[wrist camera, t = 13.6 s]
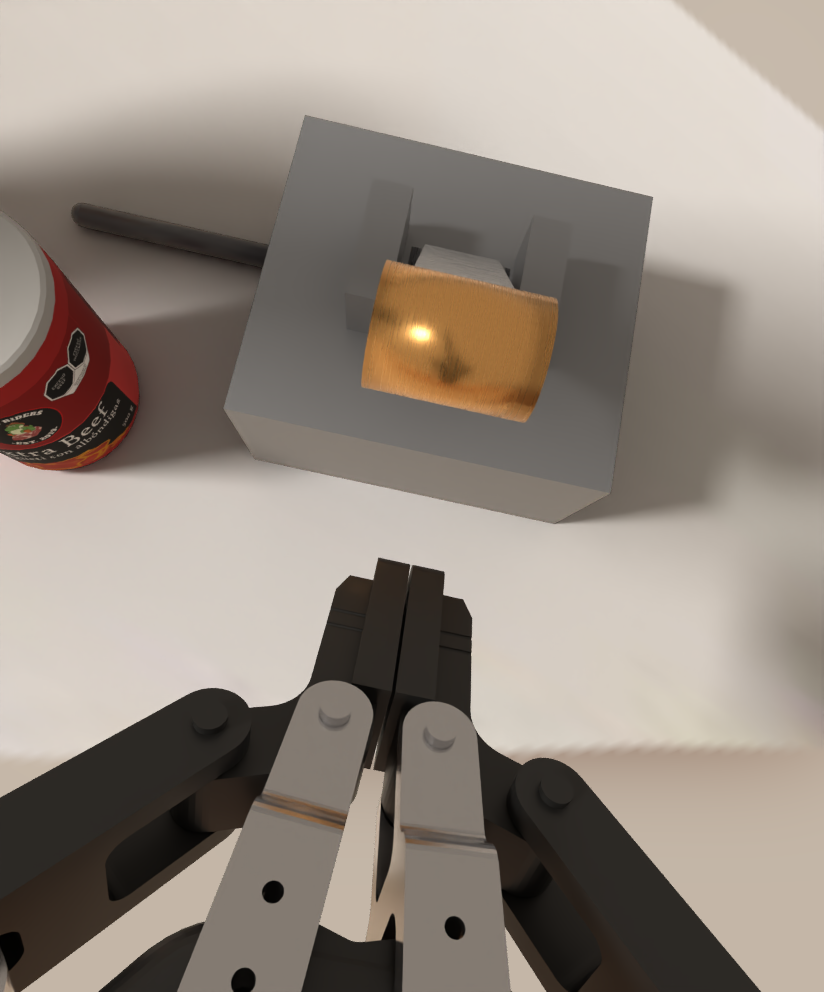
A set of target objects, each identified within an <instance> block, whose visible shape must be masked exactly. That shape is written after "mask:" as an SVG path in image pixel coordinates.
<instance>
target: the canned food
mask: <svg viewBox="0 0 824 992" xmlns="http://www.w3.org/2000/svg"><path fill="white" fill-rule="evenodd" d="M138 403H139V387H138V376H137V373H136V370H135V366H134V363H133V361H132V359H131V358H130V356H129V354H128V352H127V350H126V349H125V348H124V347H123V346H122V344H121V343H120V342H119V341H118V339H117V338H116V337H115V336H114V335H113V333H112V332H111V331H110V330H109V328H108V327H107V326H106V325H105V324H104V322H103V321H102V320H101V319H100V317H99V316H98V315H97V314H96V313H95V311H94V310H93V309H92V308H91V307H90V305H89V304H88V303H87V302H86V300H85V299H84V298H83V297H82V296H81V294H80V293H79V292H78V291H77V289H76V288H75V287H74V286H73V285H72V283H71V282H70V281H69V280H68V279H67V277H66V276H65V275H64V274H63V272H62V271H61V270H60V269H59V268H58V266H57V265H56V264H55V263H54V261H53V260H52V259H51V258H50V257H49V256H48V255H47V253H46V252H45V251H44V250H43V249H42V248H41V247H40V246H39V244H38V243H37V242H36V241H35V240H34V239H33V237H32V236H31V235H30V234H29V233H28V232H27V231H26V230H25V229H23V228H22V227H21V226H20V225H19V224H18V223H17V222H16V221H14V220H13V219H12V218H10V217H9V216H8V215H6V214H5V213H4V212H2V211H0V453H2V454H4V455H6V456H8V457H10V458H12V459H14V460H16V461H18V462H21V463H23V464H25V465H27V466H30V467H34V468H38V469H42V470H65V469H72V468H80V467H82V466H85V465H88V464H91V463H94V462H96V461H98V460H99V459H101V458H103V457H105V456H106V455H108V454H109V453H110V452H111V451H112V450H114V449H115V448H116V447H117V446H118V445H119V444H120V443H121V442H122V440H123V439H124V438H125V437H126V436H127V434H128V432H129V430H130V428H131V427H132V425H133V423H134V420H135V417H136V414H137V411H138Z"/></svg>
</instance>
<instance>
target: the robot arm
mask: <svg viewBox="0 0 824 992" xmlns="http://www.w3.org/2000/svg"><path fill="white" fill-rule="evenodd" d="M409 569H410V564H405V563H401V562H396V561H392V560H387V559H382V558H378V562H377V566H376V570H375V575H374V579H373V580H369V579H364V578H360V577H355V576H351V575H350V576H349V577H348V578H347V579H346V580H345V581H344V582H343V583H342V584H341V585H340V586H339V587H338V588H337V589H336V591H335V595H334V599H333V602H332V606H331V610H330V613H329V616H328V620H327V624H326V627H325V630H324V634H323V638H322V641H321V645H320V648H319V652H318V655H317V659H316V662H315V666H314V669H313V673H312V676H311V679H310V682H309V684H308V685H307V687H306V688H305V690H304V691H303V692H302V693H301V694H299V695H298V696H297V697H295V698H294V699H292V700H290V701H288V702H286V703H283V704H279V705H274V706H265V707H253V708H249V707H248V705H247V704H246V702H245V701H244V700H243V699H242V698H241V697H240V696H238V695H237V694H235V693H233V692H231V691H228V690H224V689H218V688H207V689H201V690H198V691H195V692H192V693H190V694H188V695H186V696H184V697H183V698H181V699H179V700H177V701H175V702H173V703H172V704H170V705H168V706H166V707H164V708H162V709H161V710H159V711H157V712H155V713H153V714H152V715H150V716H148V717H146V718H144V719H142V720H141V721H139V722H137V723H135V724H133V725H132V726H130V727H128V728H126V729H124V730H122V731H121V732H119V733H117V734H115V735H113V736H112V737H110V738H108V739H106V740H104V741H102V742H101V743H99V744H97V745H95V746H93V747H92V748H90V749H88V750H86V751H84V752H82V753H81V754H79V755H77V756H75V757H73V758H72V759H70V760H68V761H66V762H64V763H62V764H61V765H59V766H57V767H55V768H53V769H52V770H50V771H48V772H46V773H44V774H42V775H41V776H39V777H37V778H35V779H33V780H32V781H30V782H28V783H26V784H24V785H23V786H21V787H19V788H17V789H15V790H13V791H12V792H10V793H8V794H6V795H5V796H2V797H1V798H0V992H21V991H22V990H23V989H25V988H26V987H27V986H29V985H30V984H31V983H33V982H34V981H36V980H37V979H38V978H39V977H41V976H42V975H44V974H45V973H46V972H48V971H49V970H50V969H52V968H53V967H54V966H56V965H57V964H58V963H59V962H61V961H62V960H64V959H65V958H66V957H68V956H69V955H70V954H72V953H73V952H74V951H76V950H77V949H78V948H80V947H81V946H82V945H84V944H85V943H86V942H88V941H89V940H90V939H92V938H93V937H94V936H96V935H97V934H98V933H100V932H101V931H102V930H104V929H105V928H106V927H108V926H109V925H110V924H112V923H113V922H115V921H116V920H117V919H119V918H120V917H121V916H122V915H124V914H125V913H127V912H128V911H129V910H131V909H132V908H133V907H135V906H136V905H137V904H139V903H140V902H141V901H143V900H144V899H145V898H147V897H148V896H149V895H151V894H152V893H153V892H155V891H156V890H157V889H159V888H160V887H161V886H163V885H164V884H165V883H167V882H168V881H169V880H171V879H172V878H173V877H175V876H176V875H177V874H179V873H180V872H181V871H183V870H184V869H185V868H187V867H188V866H189V865H191V864H192V863H194V862H195V861H196V860H198V859H199V858H200V857H202V856H203V855H204V854H206V853H207V852H208V851H210V850H211V849H212V848H214V847H215V846H216V845H217V844H219V843H220V842H222V841H223V840H224V839H226V838H227V837H228V836H229V835H230V834H231V833H232V832H233V831H234V830H235V829H236V828H242V831H241V833H240V836H239V838H238V841H237V843H236V846H235V848H234V851H233V853H232V856H231V858H230V861H229V863H228V866H227V868H226V871H225V873H224V876H223V878H222V881H221V883H220V886H219V888H218V891H217V893H216V896H215V898H214V901H213V903H212V906H211V908H210V911H209V913H208V916H207V918H206V921H205V922H202V923H198V924H195V925H193V926H190V927H187V928H184V929H182V930H180V931H178V932H176V933H174V934H172V935H170V936H168V937H166V938H165V939H163V940H162V941H160V942H159V943H157V944H156V945H154V946H153V947H151V948H150V949H148V950H147V951H146V952H145V953H143V954H142V955H141V956H140V957H138V958H137V959H136V960H135V961H134V962H133V963H131V964H130V965H129V966H128V967H127V968H126V969H124V970H123V971H122V972H121V973H120V974H119V975H118V976H116V977H115V978H114V979H113V980H111V981H110V982H109V983H108V984H107V985H106V986H104V987H103V988H102V989H101V990H100V991H99V992H512V991H511V990H510V979H509V969H508V958H507V947H506V936H505V927H506V929H507V931H508V932H509V933H510V935H511V937H512V938H513V940H514V941H515V943H516V945H517V946H518V948H519V949H520V951H521V952H522V954H523V956H524V957H525V959H526V960H527V962H528V963H529V965H530V967H531V968H532V969H533V971H534V973H535V974H536V976H537V978H538V979H539V981H540V982H541V984H542V985H543V987H544V988H545V990H546V992H761V991H760V990H759V989H758V988H757V986H756V985H755V984H754V983H753V982H752V981H751V979H750V978H749V977H748V976H747V975H746V973H745V972H744V971H743V970H742V969H741V967H740V966H739V965H738V964H737V963H736V961H735V960H734V959H733V958H732V957H731V955H730V954H729V953H728V952H727V951H726V949H725V948H724V947H723V946H722V945H721V944H720V942H719V941H718V940H717V939H716V937H715V936H714V935H713V934H712V933H711V932H710V930H709V929H708V928H707V927H706V926H705V924H704V923H703V922H702V921H701V920H700V918H699V917H698V916H697V915H696V914H695V912H694V911H693V910H692V909H691V908H690V906H689V905H688V904H687V903H686V902H685V901H684V899H683V898H682V897H681V896H680V895H679V893H678V892H677V891H676V890H675V889H674V887H673V886H672V885H671V884H670V883H669V881H668V880H667V879H666V878H665V877H664V875H663V874H662V873H661V872H660V871H659V870H658V868H657V867H656V866H655V865H654V864H653V863H652V861H651V860H650V859H649V858H648V856H647V855H646V854H645V853H644V852H643V850H642V849H641V848H640V847H639V846H638V844H637V843H636V842H635V841H634V840H633V839H632V838H631V836H630V835H629V834H628V833H627V831H626V830H625V829H624V828H623V827H622V825H621V824H620V823H619V822H618V821H617V819H616V818H615V817H614V816H613V815H612V814H611V812H610V811H609V810H608V809H607V808H606V806H605V805H604V804H603V803H602V802H601V800H600V799H599V798H598V797H597V796H596V794H595V793H594V792H593V791H592V790H591V789H590V787H589V786H588V785H587V784H586V783H585V782H584V780H583V779H582V778H581V777H580V776H579V775H578V774H577V772H575V771H574V770H573V769H572V768H570V767H569V766H567V765H566V764H564V763H562V762H560V761H557V760H554V759H549V758H537V759H532V760H530V761H528V762H526V763H525V764H524V765H521V764H519V763H517V762H515V761H513V760H511V759H509V758H508V757H506V756H504V755H502V754H500V753H498V752H497V751H495V750H494V749H492V748H491V747H490V746H488V745H487V744H486V743H485V742H484V741H483V740H482V738H481V737H480V736H479V735H478V733H477V731H476V730H475V728H474V725H473V723H472V719H471V712H470V703H471V648H472V640H471V638H472V617H471V615H470V613H469V611H468V609H467V607H466V605H465V602H464V600H463V599H458V598H453V597H449V596H444V595H443V589H444V575H445V574H444V572H443V571H438V570H434V569H429V568H425V567H420V566H415V565H412V568H411V571H410V575H409ZM408 576H409V578H408ZM377 742H378V743H377ZM376 746H377V750H376ZM375 750H376V756H375V763H374V770H378V771H382V772H385V775H384V783H383V790H382V794H381V797H380V801H379V804H378V808H377V816H376V832H375V848H374V863H373V879H372V896H371V909H370V918H369V924H368V930H367V935H366V941H365V942H353V941H350V940H348V939H346V938H344V937H342V936H340V935H338V934H336V933H334V932H332V931H331V930H329V929H327V928H325V927H323V926H321V925H319V922H320V918H321V914H322V911H323V907H324V903H325V899H326V895H327V891H328V888H329V884H330V880H331V876H332V872H333V868H334V865H335V861H336V857H337V853H338V850H339V846H340V842H341V838H342V834H343V831H344V827H345V823H346V819H347V815H348V811H349V808H350V804H351V803H352V802H353V800H354V799H355V797H356V794H357V791H358V787H359V783H360V779H361V776H362V772H363V768H367V769H370V767H371V764H372V760H373V757H374V753H375Z"/></svg>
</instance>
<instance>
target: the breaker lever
mask: <svg viewBox="0 0 824 992" xmlns="http://www.w3.org/2000/svg"><path fill="white" fill-rule="evenodd" d="M509 276H510V269H509V268H505V267H502V265H501V263H500V261H498V260H494V259H489V258H485V257H481V256H476V255H472V254H468V253H463V252H459V251H455V250H450V249H446V248H442V247H437V246H433V245H429V244H425V246H424V248H423V249H422V248H418V247H414V246H412V248H411V252H410V256H409V261H408V264H404V263H400V262H395V261H391V260H386V262H385V265H384V268H383V271H382V274H381V278H380V282H379V285H378V289H377V294H376V298H375V302H374V307H373V312H372V316H371V321H370V326H369V332H368V337H367V343H366V349H365V355H364V362H363V369H362V379H361V386H362V387H363V388H368V389H372V390H377V391H381V392H386V393H390V394H395V395H399V396H404V397H409V398H413V399H418V400H422V401H427V402H431V403H436V404H440V405H445V406H449V407H454V408H458V409H463V410H467V411H472V412H476V413H481V414H485V415H490V416H494V417H499V418H503V419H508V420H512V421H517V422H521V423H524V422H526V421H527V420H528V418H529V417H530V415H531V414H532V412H533V410H534V408H535V405H536V403H537V401H538V398H539V395H540V393H541V390H542V387H543V384H544V381H545V378H546V374H547V371H548V367H549V363H550V360H551V355H552V351H553V346H554V342H555V336H556V330H557V323H558V301H557V299H556V298H553V297H549V296H544V295H540V294H536V293H531V292H527V291H522V290H518V289H514V287H513V285H512V283H511V281H510V280H509Z"/></svg>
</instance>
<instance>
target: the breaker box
mask: <svg viewBox="0 0 824 992" xmlns="http://www.w3.org/2000/svg"><path fill="white" fill-rule="evenodd" d="M652 200H653V197H651V196H646V195H642V194H638V193H634V192H629V191H625V190H621V189H617V188H612V187H608V186H604V185H600V184H595V183H591V182H587V181H583V180H578V179H574V178H570V177H566V176H561V175H557V174H553V173H549V172H544V171H540V170H536V169H532V168H527V167H523V166H519V165H515V164H510V163H506V162H502V161H498V160H493V159H489V158H485V157H481V156H476V155H472V154H468V153H464V152H459V151H455V150H451V149H447V148H442V147H438V146H434V145H430V144H425V143H421V142H417V141H413V140H408V139H404V138H400V137H396V136H391V135H387V134H383V133H379V132H374V131H370V130H366V129H362V128H357V127H353V126H349V125H345V124H340V123H336V122H332V121H328V120H323V119H319V118H315V117H311V116H306V115H305V118H304V121H303V125H302V128H301V132H300V136H299V139H298V143H297V146H296V150H295V154H294V157H293V161H292V164H291V168H290V171H289V175H288V179H287V182H286V186H285V189H284V193H283V197H282V200H281V204H280V207H279V211H278V215H277V218H276V222H275V225H274V229H273V232H272V236H271V240H270V243H269V245H266V244H261V243H257V242H253V241H248V240H244V239H239V238H235V237H231V236H226V235H222V234H217V233H213V232H209V231H204V230H200V229H196V228H191V227H187V226H182V225H178V224H174V223H169V222H165V221H160V220H156V219H152V218H147V217H143V216H138V215H134V214H130V213H125V212H121V211H116V210H112V209H108V208H103V207H99V206H95V205H90V204H86V203H78V204H76V205H75V206H74V207H73V208H72V212H71V214H72V218H73V220H74V221H75V222H76V223H77V224H78V225H80V226H82V227H86V228H90V229H95V230H99V231H104V232H108V233H113V234H117V235H121V236H126V237H130V238H135V239H139V240H143V241H148V242H152V243H157V244H161V245H166V246H170V247H174V248H179V249H183V250H188V251H192V252H196V253H201V254H205V255H210V256H214V257H218V258H223V259H227V260H232V261H236V262H241V263H245V264H249V265H254V266H258V267H263V268H262V272H261V276H260V279H259V283H258V286H257V290H256V293H255V297H254V301H253V304H252V308H251V311H250V315H249V319H248V322H247V326H246V329H245V333H244V337H243V340H242V344H241V347H240V351H239V355H238V358H237V362H236V365H235V369H234V372H233V376H232V380H231V383H230V387H229V390H228V394H227V398H226V401H225V405H224V408H223V409H224V411H225V412H226V414H227V415H228V417H229V419H230V420H231V422H232V423H233V425H234V427H235V428H236V430H237V431H238V433H239V435H240V436H241V438H242V440H243V441H244V443H245V444H246V446H247V448H248V449H249V451H250V452H251V454H252V456H253V457H254V459H257V460H261V461H266V462H270V463H275V464H280V465H284V466H289V467H294V468H298V469H303V470H307V471H312V472H317V473H321V474H326V475H331V476H335V477H340V478H344V479H349V480H354V481H358V482H363V483H368V484H372V485H377V486H381V487H386V488H391V489H395V490H400V491H405V492H409V493H414V494H418V495H423V496H428V497H432V498H437V499H442V500H446V501H451V502H455V503H460V504H465V505H469V506H474V507H479V508H483V509H488V510H492V511H497V512H502V513H506V514H511V515H516V516H520V517H525V518H529V519H534V520H539V521H543V522H548V523H553V524H555V523H557V522H558V521H560V520H562V519H564V518H566V517H568V516H570V515H571V514H573V513H575V512H577V511H579V510H581V509H583V508H584V507H586V506H588V505H590V504H592V503H594V502H596V501H597V500H599V499H601V498H603V497H605V496H607V495H608V494H610V493H611V487H612V480H613V473H614V466H615V459H616V452H617V445H618V438H619V431H620V424H621V417H622V410H623V403H624V396H625V389H626V382H627V375H628V368H629V361H630V354H631V347H632V340H633V333H634V326H635V319H636V312H637V305H638V298H639V291H640V284H641V277H642V270H643V263H644V256H645V249H646V242H647V235H648V228H649V221H650V214H651V207H652ZM425 244H429V245H433V246H437V247H442V248H446V249H450V250H455V251H459V252H463V253H468V254H472V255H476V256H481V257H485V258H489V259H494V260H498V261H500V263H501V265H502V267H505V268H509V269H510V276H509V280H510V281H511V283H512V285H513V287H514V289H518V290H522V291H527V292H531V293H536V294H540V295H544V296H549V297H553V298H556V299H557V301H558V323H557V330H556V336H555V342H554V346H553V351H552V355H551V360H550V363H549V367H548V371H547V374H546V378H545V381H544V384H543V387H542V390H541V393H540V395H539V398H538V401H537V403H536V405H535V408H534V410H533V412H532V414H531V415H530V417H529V418H528V420H527V421H526V422H524V423H521V422H517V421H512V420H508V419H503V418H499V417H494V416H490V415H485V414H481V413H476V412H472V411H467V410H463V409H458V408H454V407H449V406H445V405H440V404H436V403H431V402H427V401H422V400H418V399H413V398H409V397H404V396H399V395H395V394H390V393H386V392H381V391H377V390H372V389H368V388H363V387H362V386H361V379H362V369H363V362H364V355H365V349H366V343H367V337H368V332H369V326H370V321H371V316H372V312H373V307H374V302H375V298H376V294H377V289H378V285H379V282H380V278H381V274H382V271H383V268H384V265H385V262H386V260H391V261H395V262H400V263H404V264H408V261H409V256H410V252H411V248H412V246H414V247H418V248H422V249H423V248H424V246H425Z"/></svg>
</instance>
